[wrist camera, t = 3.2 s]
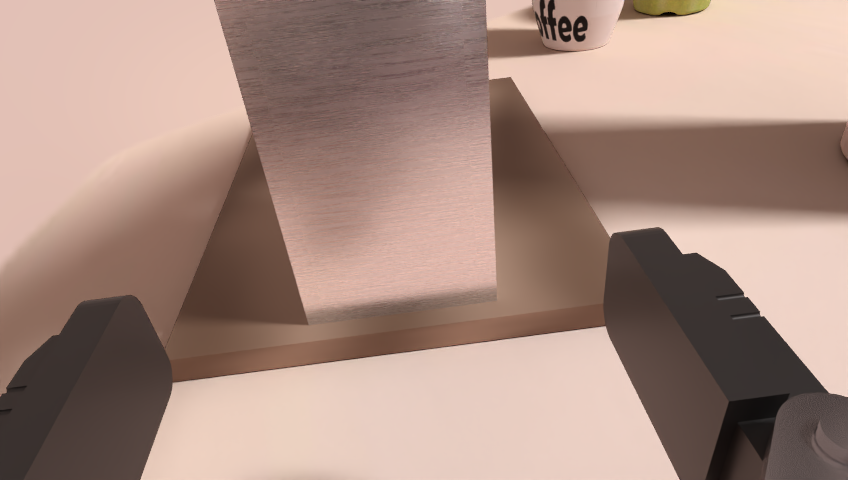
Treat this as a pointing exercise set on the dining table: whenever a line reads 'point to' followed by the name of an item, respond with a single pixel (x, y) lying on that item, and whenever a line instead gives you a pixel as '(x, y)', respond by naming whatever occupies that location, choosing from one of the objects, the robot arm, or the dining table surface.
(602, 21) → the cup
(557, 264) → the walnut board
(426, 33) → the steel cover
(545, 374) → the dining table surface
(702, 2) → the plant pot
